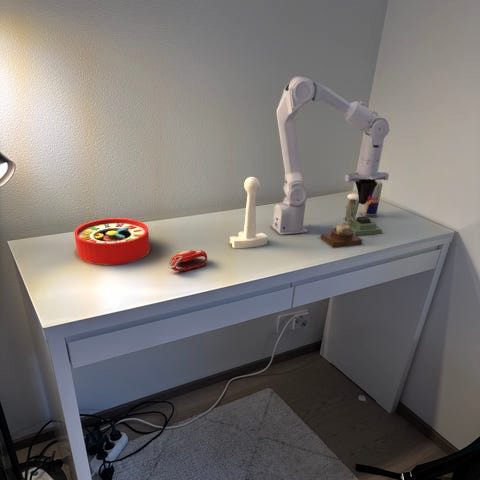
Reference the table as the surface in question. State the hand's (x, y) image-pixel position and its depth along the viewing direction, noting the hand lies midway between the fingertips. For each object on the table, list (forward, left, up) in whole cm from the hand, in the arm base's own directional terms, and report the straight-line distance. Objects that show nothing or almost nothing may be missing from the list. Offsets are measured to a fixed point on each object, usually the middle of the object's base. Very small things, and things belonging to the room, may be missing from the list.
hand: (362, 203), depth 142 cm
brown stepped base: (-10, -7, -9) cm, 15 cm away
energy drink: (+13, +13, -9) cm, 20 cm away
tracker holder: (-61, -12, -9) cm, 63 cm away
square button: (+2, 0, -7) cm, 7 cm away
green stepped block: (+2, 0, -9) cm, 9 cm away
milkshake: (+4, +10, -9) cm, 14 cm away
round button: (-10, -7, -6) cm, 14 cm away
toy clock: (-78, +3, -9) cm, 79 cm away
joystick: (-39, -1, -9) cm, 40 cm away
